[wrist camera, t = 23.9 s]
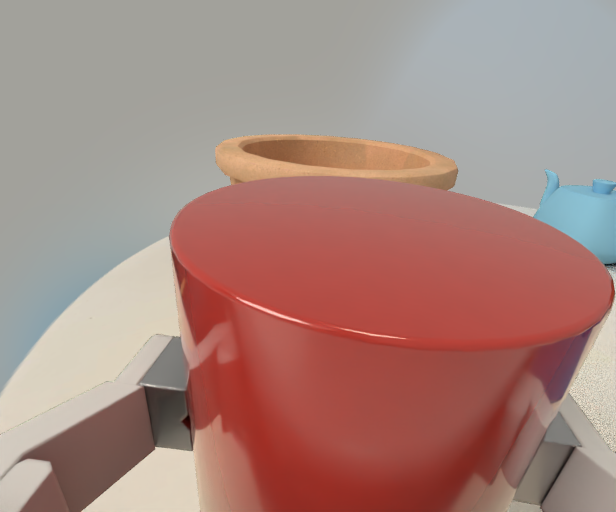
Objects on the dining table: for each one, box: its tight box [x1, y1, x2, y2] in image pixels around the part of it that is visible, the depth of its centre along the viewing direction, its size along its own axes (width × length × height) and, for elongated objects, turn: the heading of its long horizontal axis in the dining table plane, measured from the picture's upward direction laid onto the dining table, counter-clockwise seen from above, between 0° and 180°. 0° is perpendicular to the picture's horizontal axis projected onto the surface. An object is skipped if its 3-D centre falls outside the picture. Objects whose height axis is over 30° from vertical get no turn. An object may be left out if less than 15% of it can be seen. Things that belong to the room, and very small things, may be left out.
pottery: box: [215, 135, 458, 191], centre depth 36 cm, size 22×22×14 cm
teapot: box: [533, 169, 616, 264], centre depth 51 cm, size 13×11×18 cm
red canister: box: [169, 176, 615, 512], centre depth 8 cm, size 6×6×10 cm
